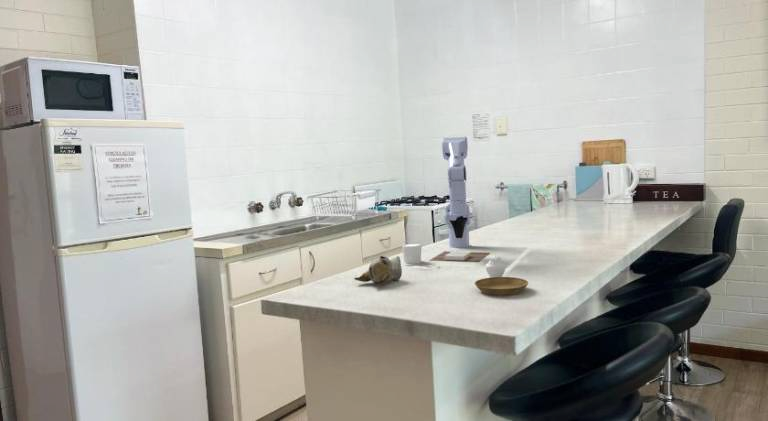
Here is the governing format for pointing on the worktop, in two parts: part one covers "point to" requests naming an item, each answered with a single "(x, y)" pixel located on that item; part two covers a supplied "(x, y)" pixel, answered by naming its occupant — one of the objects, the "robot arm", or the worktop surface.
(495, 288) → the plant saucer
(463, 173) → the robot arm
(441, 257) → the walnut board
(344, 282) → the worktop surface
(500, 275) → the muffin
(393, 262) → the ceramic sculpture
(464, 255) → the glazed tile
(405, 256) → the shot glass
